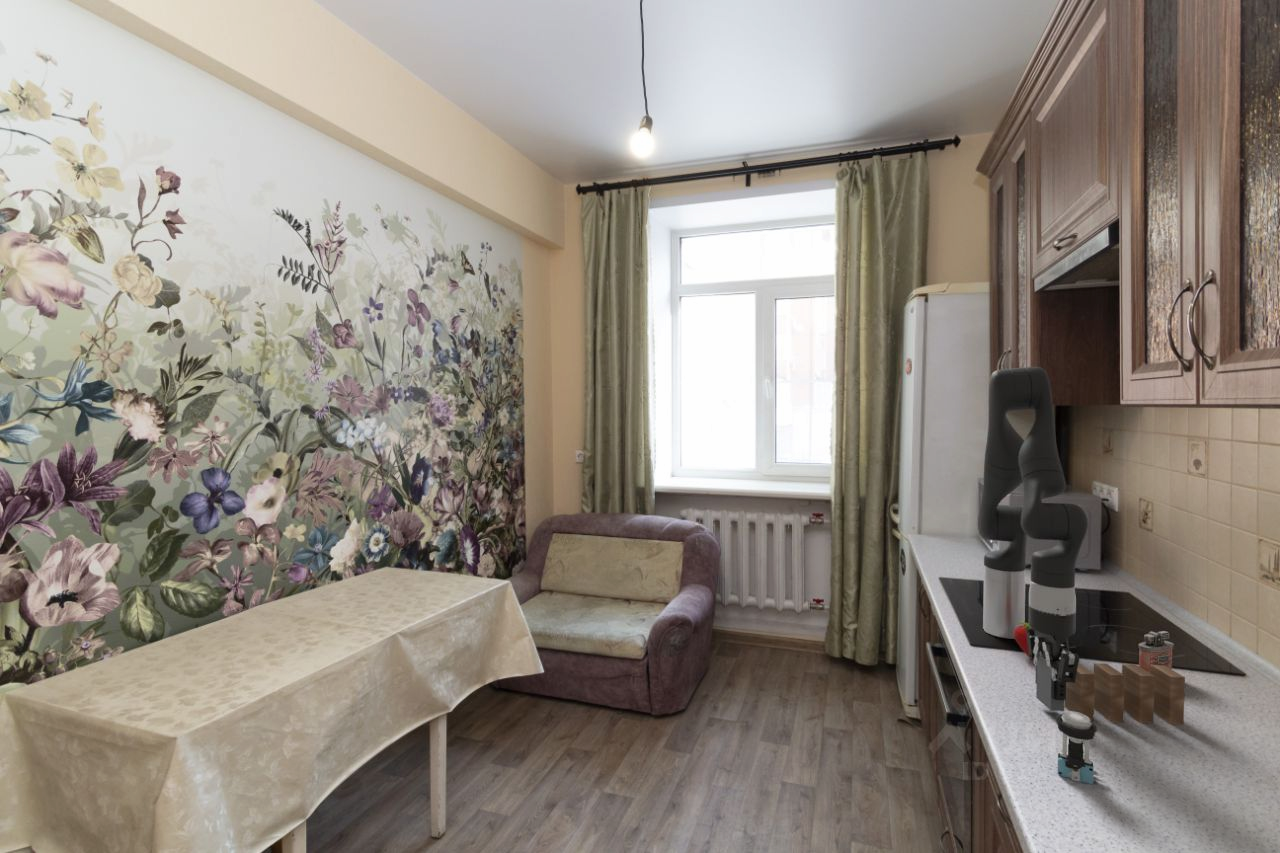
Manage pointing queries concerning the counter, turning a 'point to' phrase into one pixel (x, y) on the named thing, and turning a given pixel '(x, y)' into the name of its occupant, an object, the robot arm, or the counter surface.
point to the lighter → (1155, 651)
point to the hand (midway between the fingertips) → (1050, 691)
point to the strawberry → (1022, 637)
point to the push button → (1076, 747)
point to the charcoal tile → (1046, 685)
